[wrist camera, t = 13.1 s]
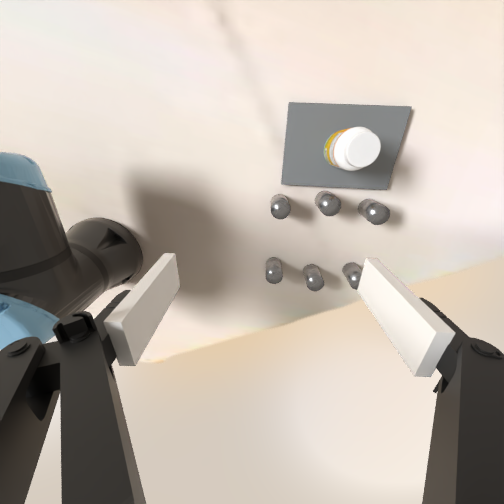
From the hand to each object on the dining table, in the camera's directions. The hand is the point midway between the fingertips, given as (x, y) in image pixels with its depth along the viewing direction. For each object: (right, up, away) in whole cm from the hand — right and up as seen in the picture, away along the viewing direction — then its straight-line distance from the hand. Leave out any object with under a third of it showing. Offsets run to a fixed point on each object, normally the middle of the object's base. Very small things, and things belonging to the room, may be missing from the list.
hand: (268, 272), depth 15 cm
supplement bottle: (+13, +18, +20) cm, 30 cm away
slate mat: (+13, +19, +21) cm, 31 cm away
